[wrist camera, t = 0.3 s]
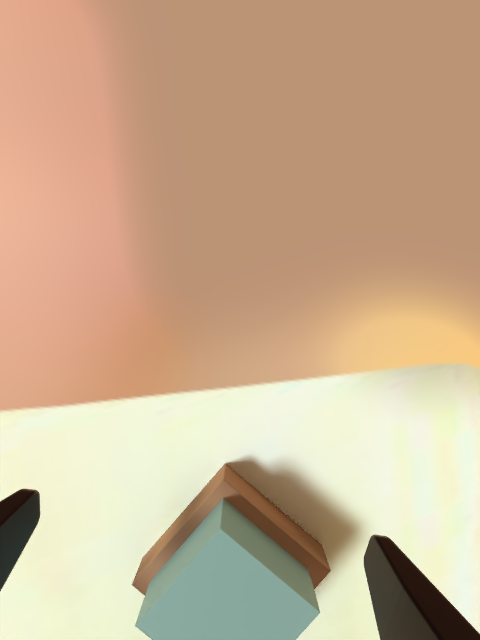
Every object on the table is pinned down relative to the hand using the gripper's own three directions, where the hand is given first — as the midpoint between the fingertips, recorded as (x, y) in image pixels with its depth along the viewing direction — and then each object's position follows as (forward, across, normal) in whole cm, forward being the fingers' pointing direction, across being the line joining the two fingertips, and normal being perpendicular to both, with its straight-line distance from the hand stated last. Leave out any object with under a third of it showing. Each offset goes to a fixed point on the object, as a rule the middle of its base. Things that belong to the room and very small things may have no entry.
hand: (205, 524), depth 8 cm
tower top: (+10, -2, +16) cm, 18 cm away
